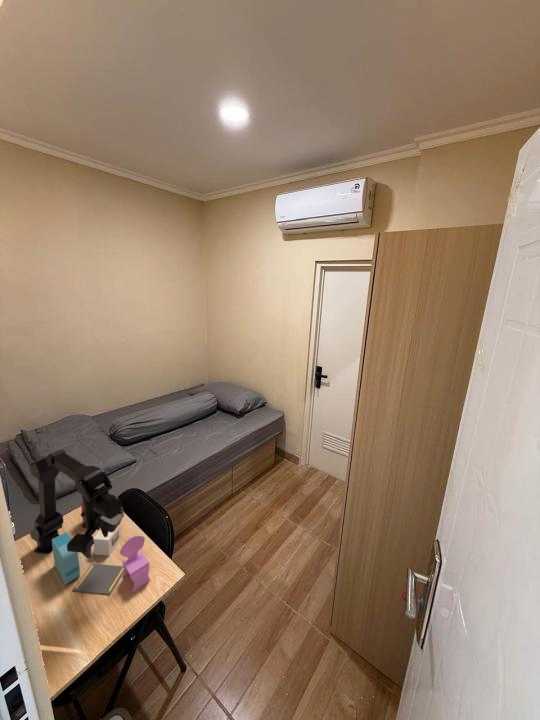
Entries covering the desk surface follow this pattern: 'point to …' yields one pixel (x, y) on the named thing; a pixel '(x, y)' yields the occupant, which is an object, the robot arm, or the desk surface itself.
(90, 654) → the desk surface
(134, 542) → the toy chair
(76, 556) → the data package
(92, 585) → the mat
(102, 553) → the white box
